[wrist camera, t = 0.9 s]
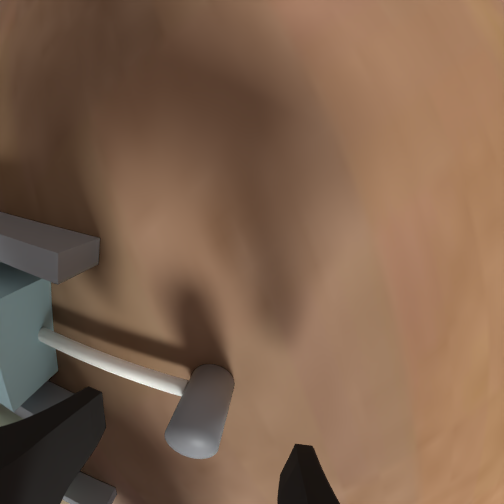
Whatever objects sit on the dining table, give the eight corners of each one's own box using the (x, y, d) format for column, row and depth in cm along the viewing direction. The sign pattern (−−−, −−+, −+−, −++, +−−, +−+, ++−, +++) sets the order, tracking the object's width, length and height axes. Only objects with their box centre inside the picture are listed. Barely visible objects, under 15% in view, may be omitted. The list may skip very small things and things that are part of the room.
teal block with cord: (224, 429, 14) (206, 496, 10) (-5, 335, 15) (-48, 363, 10) (246, 331, 13) (229, 399, 8) (-14, 248, 13) (-69, 267, 9)
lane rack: (116, 494, 17) (103, 519, 14) (12, 437, 18) (-4, 455, 15) (100, 238, 12) (58, 253, 10) (-32, 202, 13) (-66, 209, 10)
